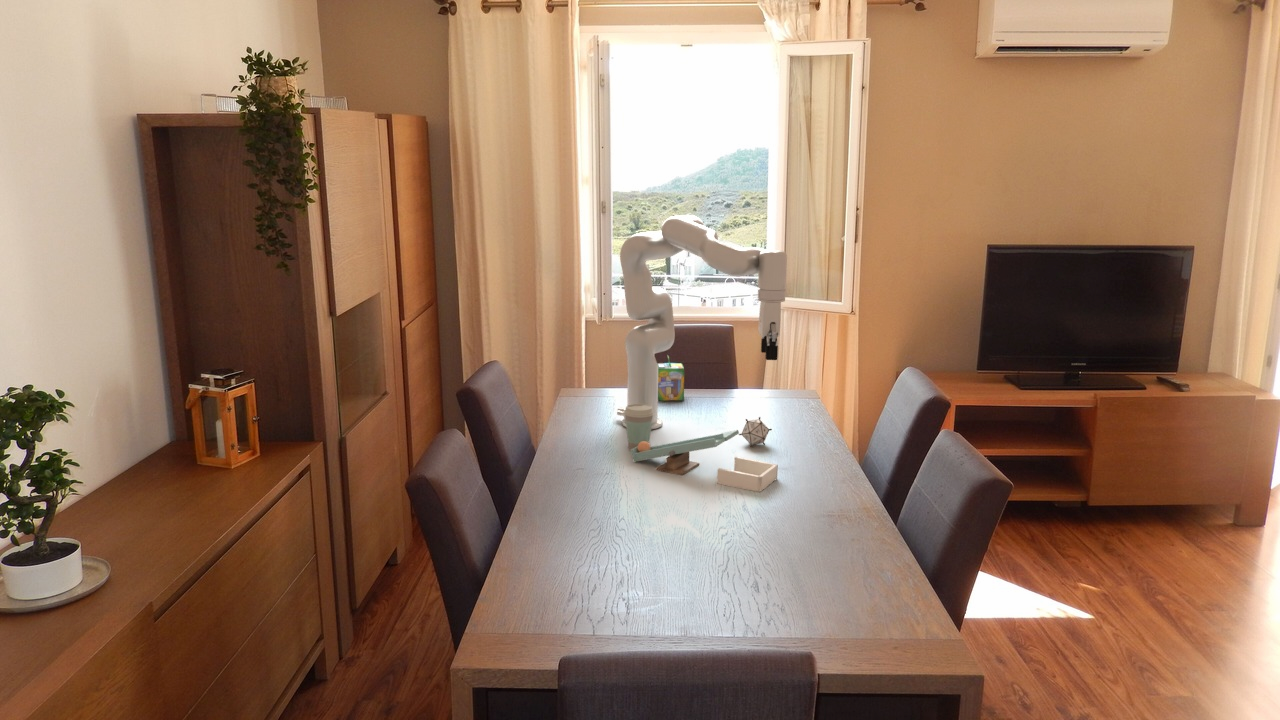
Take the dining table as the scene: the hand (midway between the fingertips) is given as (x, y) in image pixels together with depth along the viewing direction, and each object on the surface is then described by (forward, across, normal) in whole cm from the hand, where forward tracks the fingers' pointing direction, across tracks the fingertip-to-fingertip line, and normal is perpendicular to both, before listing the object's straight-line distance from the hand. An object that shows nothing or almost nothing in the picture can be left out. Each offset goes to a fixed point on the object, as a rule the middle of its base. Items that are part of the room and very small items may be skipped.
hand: (769, 356), depth 264 cm
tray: (+29, +23, -8) cm, 38 cm away
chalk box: (+28, -60, -25) cm, 71 cm away
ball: (+25, +8, -35) cm, 43 cm away
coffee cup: (+28, -4, -36) cm, 46 cm away
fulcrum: (+28, +13, -25) cm, 40 cm away
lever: (+24, +10, -23) cm, 35 cm away
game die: (+29, -8, -2) cm, 30 cm away
